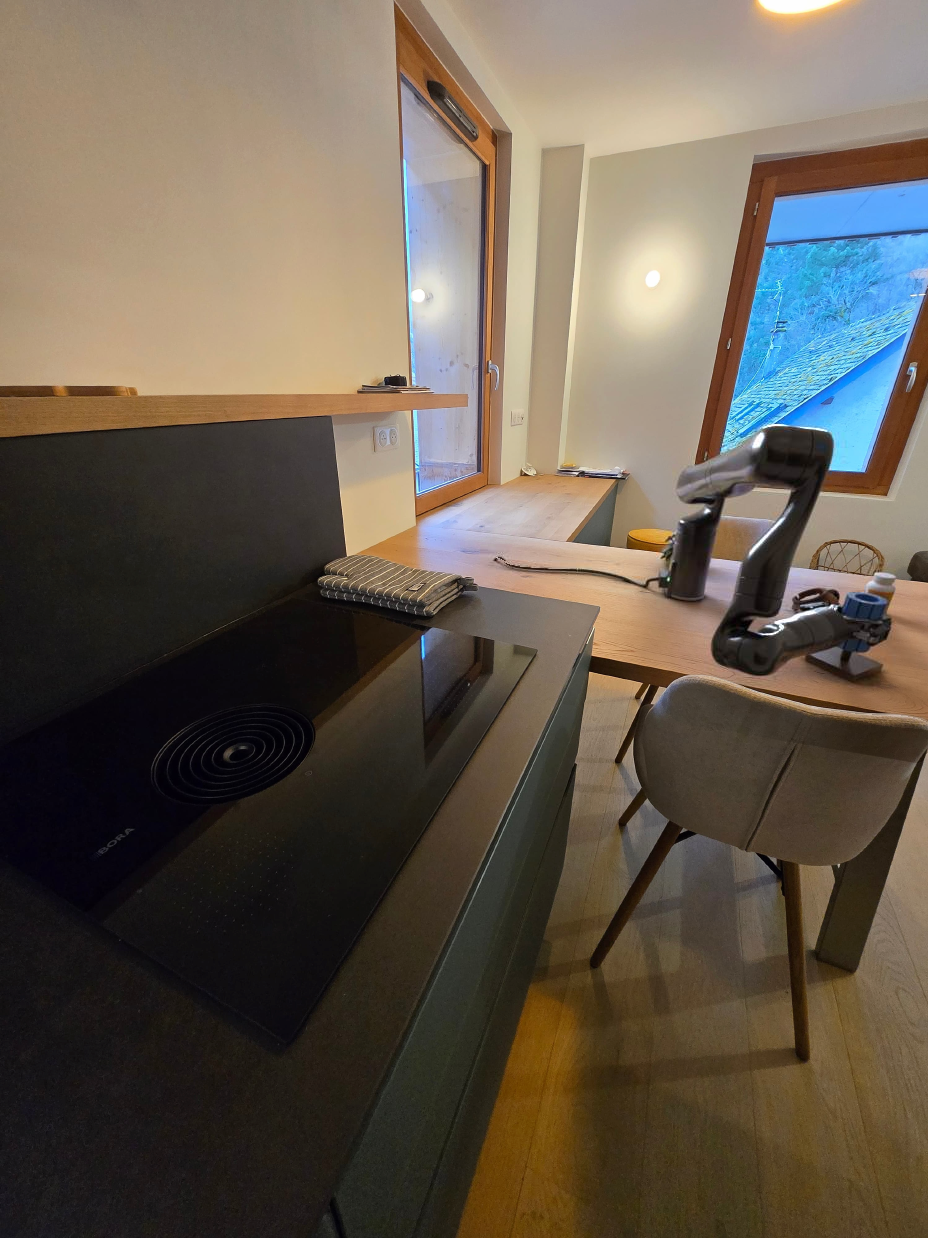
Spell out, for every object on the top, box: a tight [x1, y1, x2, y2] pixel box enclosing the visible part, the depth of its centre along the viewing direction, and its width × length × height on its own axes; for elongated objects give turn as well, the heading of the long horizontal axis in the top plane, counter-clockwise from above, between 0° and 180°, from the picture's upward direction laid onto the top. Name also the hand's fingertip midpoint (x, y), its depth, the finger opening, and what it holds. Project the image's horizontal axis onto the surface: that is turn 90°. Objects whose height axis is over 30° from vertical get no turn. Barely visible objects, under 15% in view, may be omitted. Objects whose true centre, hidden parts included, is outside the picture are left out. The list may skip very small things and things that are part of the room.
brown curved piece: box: [791, 587, 841, 612], centre depth 117 cm, size 12×10×8 cm
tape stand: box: [804, 647, 884, 682], centre depth 95 cm, size 9×9×10 cm
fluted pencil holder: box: [836, 591, 888, 654], centre depth 93 cm, size 6×6×10 cm
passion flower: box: [659, 533, 676, 570], centre depth 151 cm, size 11×11×12 cm
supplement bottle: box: [863, 572, 897, 617], centre depth 117 cm, size 5×5×10 cm
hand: (867, 615), depth 94 cm, fingers closed on fluted pencil holder, 6 cm apart
